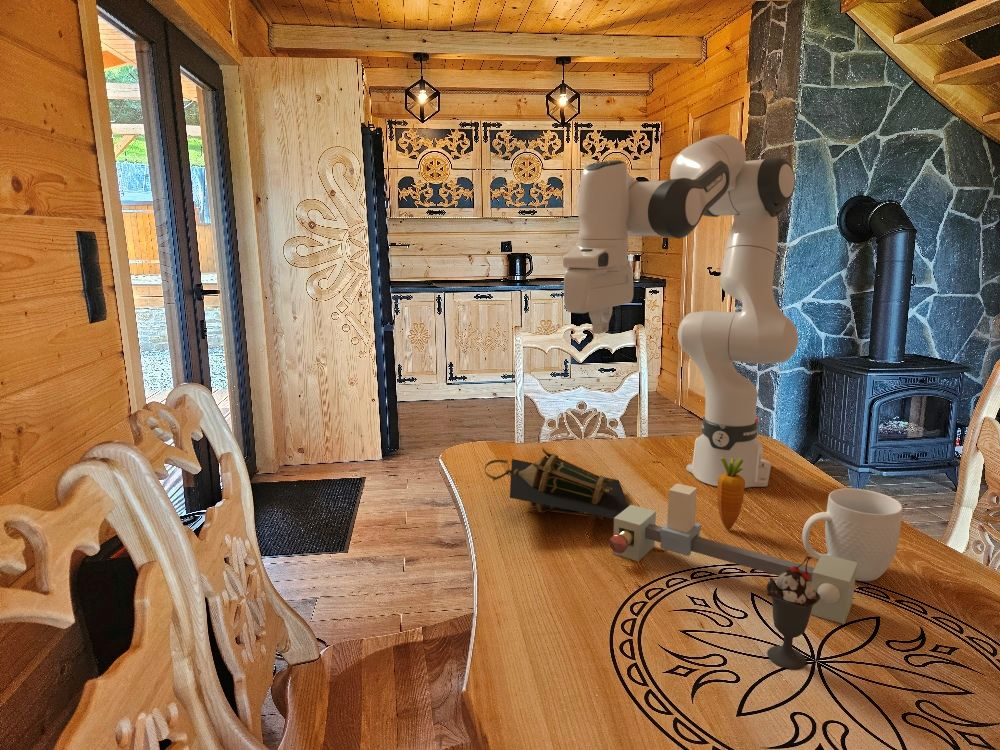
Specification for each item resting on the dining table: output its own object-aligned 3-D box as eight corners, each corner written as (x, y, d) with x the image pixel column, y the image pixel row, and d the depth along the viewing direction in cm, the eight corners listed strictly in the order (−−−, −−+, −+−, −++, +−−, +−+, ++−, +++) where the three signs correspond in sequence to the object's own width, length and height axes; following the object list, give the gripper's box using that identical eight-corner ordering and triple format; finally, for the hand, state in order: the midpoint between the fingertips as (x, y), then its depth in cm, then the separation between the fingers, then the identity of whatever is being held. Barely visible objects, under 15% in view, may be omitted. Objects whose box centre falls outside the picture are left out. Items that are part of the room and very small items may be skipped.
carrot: (708, 527, 130) (713, 455, 127) (727, 522, 133) (732, 451, 129) (728, 537, 126) (733, 463, 123) (746, 532, 128) (752, 458, 125)
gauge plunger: (632, 529, 124) (633, 514, 124) (648, 534, 123) (649, 518, 122) (609, 550, 117) (609, 533, 116) (625, 555, 115) (626, 538, 114)
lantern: (624, 559, 126) (472, 517, 126) (608, 518, 149) (479, 482, 149) (644, 492, 125) (491, 450, 125) (625, 461, 148) (495, 425, 148)
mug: (811, 586, 109) (819, 513, 106) (788, 554, 120) (795, 486, 117) (906, 590, 108) (916, 515, 105) (875, 557, 118) (883, 488, 115)
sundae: (819, 655, 92) (830, 556, 88) (803, 680, 87) (814, 576, 83) (771, 636, 96) (780, 541, 93) (753, 659, 91) (761, 559, 88)
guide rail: (629, 539, 126) (630, 504, 124) (852, 603, 104) (857, 562, 103) (611, 555, 120) (612, 519, 118) (843, 626, 98) (848, 583, 97)
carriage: (672, 536, 120) (675, 480, 118) (699, 543, 117) (703, 486, 115) (659, 549, 115) (662, 491, 113) (687, 557, 112) (690, 498, 110)
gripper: (612, 253, 128) (610, 324, 131) (557, 257, 112) (556, 338, 115) (643, 253, 124) (640, 326, 127) (590, 258, 108) (589, 342, 111)
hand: (600, 332), depth 121 cm, fingers closed
